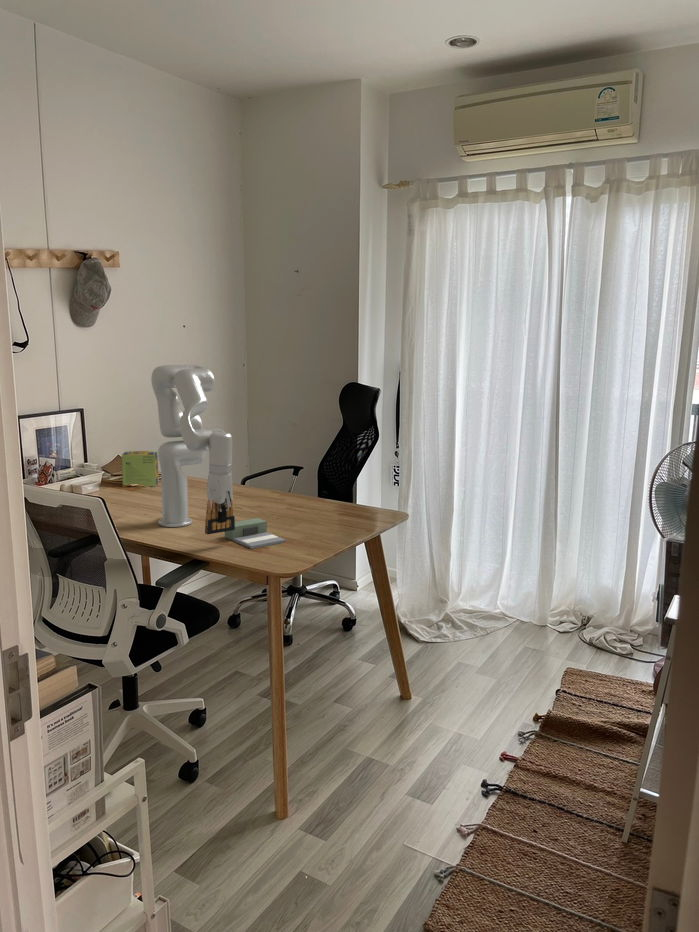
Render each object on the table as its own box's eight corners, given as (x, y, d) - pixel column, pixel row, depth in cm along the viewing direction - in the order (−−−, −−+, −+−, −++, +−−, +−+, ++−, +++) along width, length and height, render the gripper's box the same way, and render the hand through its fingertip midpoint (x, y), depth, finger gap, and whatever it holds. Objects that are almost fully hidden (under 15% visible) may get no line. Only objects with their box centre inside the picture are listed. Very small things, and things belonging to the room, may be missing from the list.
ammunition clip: (232, 528, 257) (232, 495, 255) (235, 529, 256) (235, 496, 253) (204, 533, 250) (204, 499, 248) (207, 534, 249) (207, 500, 246)
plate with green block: (224, 536, 265) (224, 523, 264) (257, 530, 274) (257, 517, 273) (251, 549, 252) (251, 534, 251) (285, 542, 260) (285, 528, 259)
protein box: (156, 487, 344) (155, 454, 341) (122, 487, 342) (121, 454, 339) (159, 482, 354) (158, 450, 351) (126, 482, 352) (125, 450, 349)
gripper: (199, 465, 252) (199, 517, 256) (222, 474, 240) (222, 528, 244) (218, 463, 257) (218, 514, 261) (242, 472, 245) (241, 525, 249)
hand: (220, 521), depth 252 cm, fingers closed on ammunition clip, 2 cm apart
